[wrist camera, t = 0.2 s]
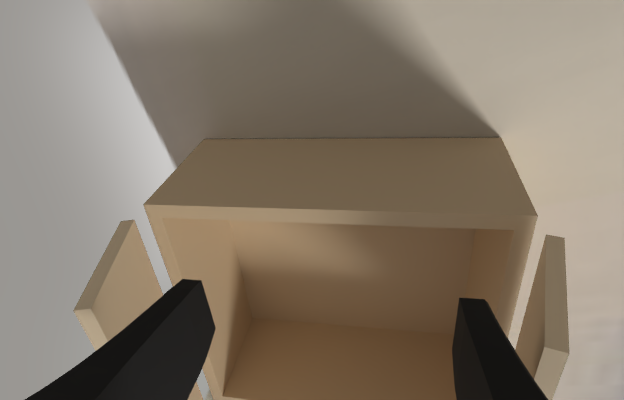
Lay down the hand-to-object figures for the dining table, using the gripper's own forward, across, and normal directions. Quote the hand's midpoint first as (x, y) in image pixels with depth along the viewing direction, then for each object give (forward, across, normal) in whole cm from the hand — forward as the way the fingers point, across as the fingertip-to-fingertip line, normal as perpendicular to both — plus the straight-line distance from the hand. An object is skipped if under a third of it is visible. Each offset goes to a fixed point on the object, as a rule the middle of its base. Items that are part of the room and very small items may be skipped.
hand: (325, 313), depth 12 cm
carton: (+10, +1, +6) cm, 12 cm away
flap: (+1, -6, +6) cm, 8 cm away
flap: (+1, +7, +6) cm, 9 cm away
